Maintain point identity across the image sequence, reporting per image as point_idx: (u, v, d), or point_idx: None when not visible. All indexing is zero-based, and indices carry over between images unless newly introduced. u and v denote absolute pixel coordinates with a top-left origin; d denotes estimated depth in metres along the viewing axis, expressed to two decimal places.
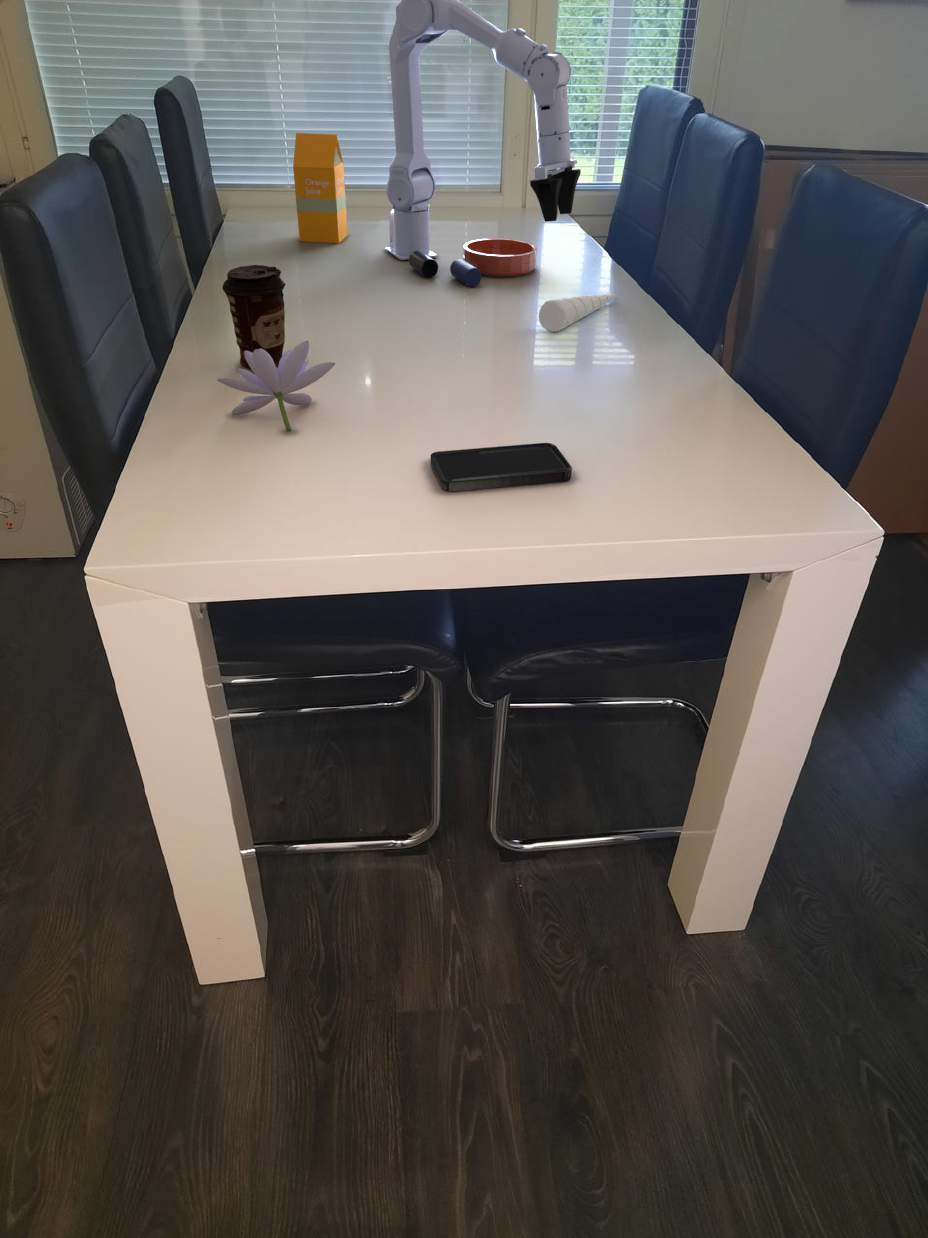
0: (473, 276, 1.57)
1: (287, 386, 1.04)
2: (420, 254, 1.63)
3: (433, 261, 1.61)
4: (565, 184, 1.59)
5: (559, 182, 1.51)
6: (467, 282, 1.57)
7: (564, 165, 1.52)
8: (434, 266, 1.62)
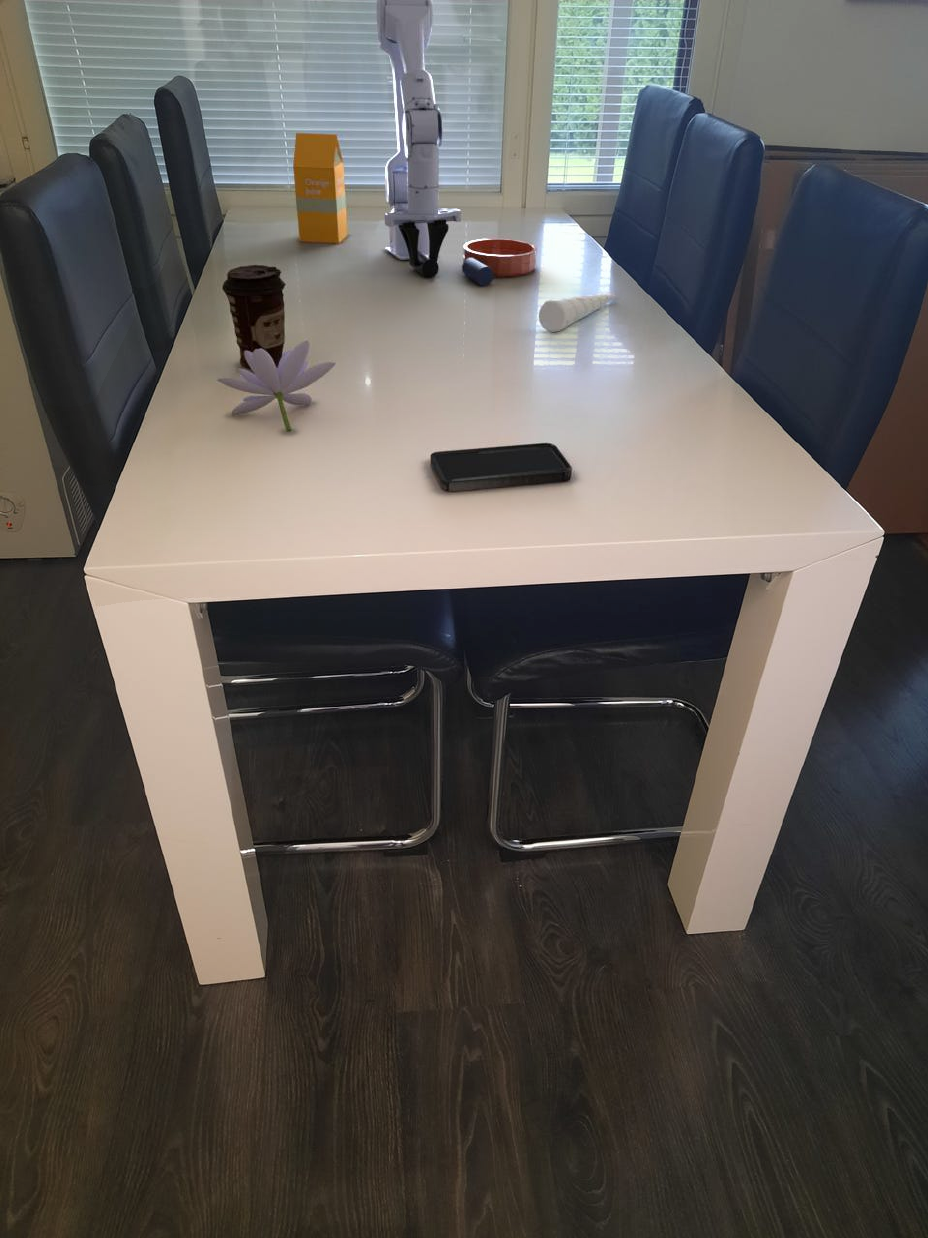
0: (486, 276, 1.58)
1: (287, 386, 1.04)
2: (420, 254, 1.63)
3: (433, 261, 1.61)
4: (433, 235, 1.62)
5: (413, 232, 1.58)
6: (481, 270, 1.57)
7: (418, 218, 1.56)
8: (434, 267, 1.62)
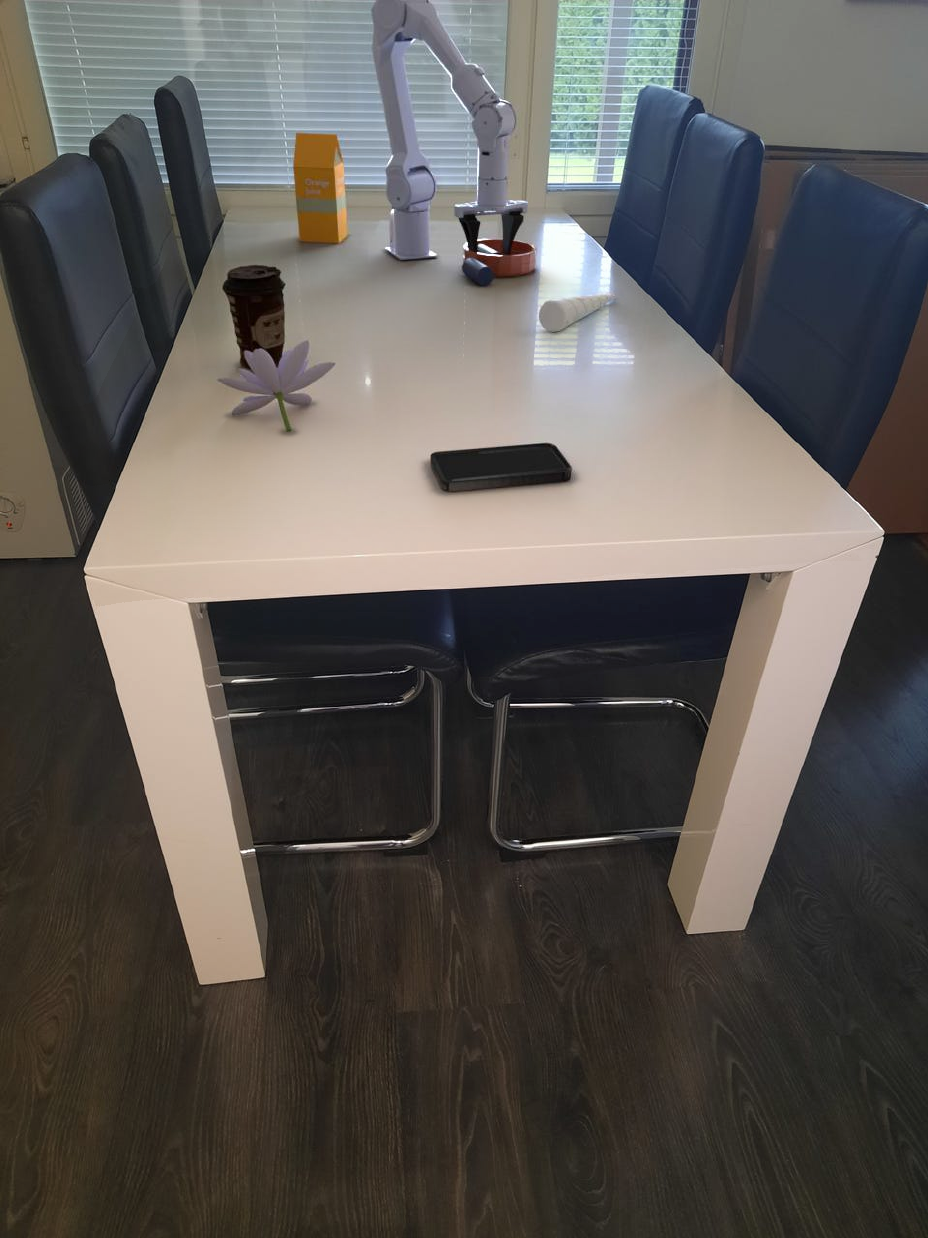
0: (486, 276, 1.58)
1: (287, 386, 1.04)
2: (484, 248, 1.66)
3: (498, 254, 1.64)
4: (507, 226, 1.65)
5: (474, 224, 1.60)
6: (481, 270, 1.57)
7: (488, 210, 1.59)
8: None
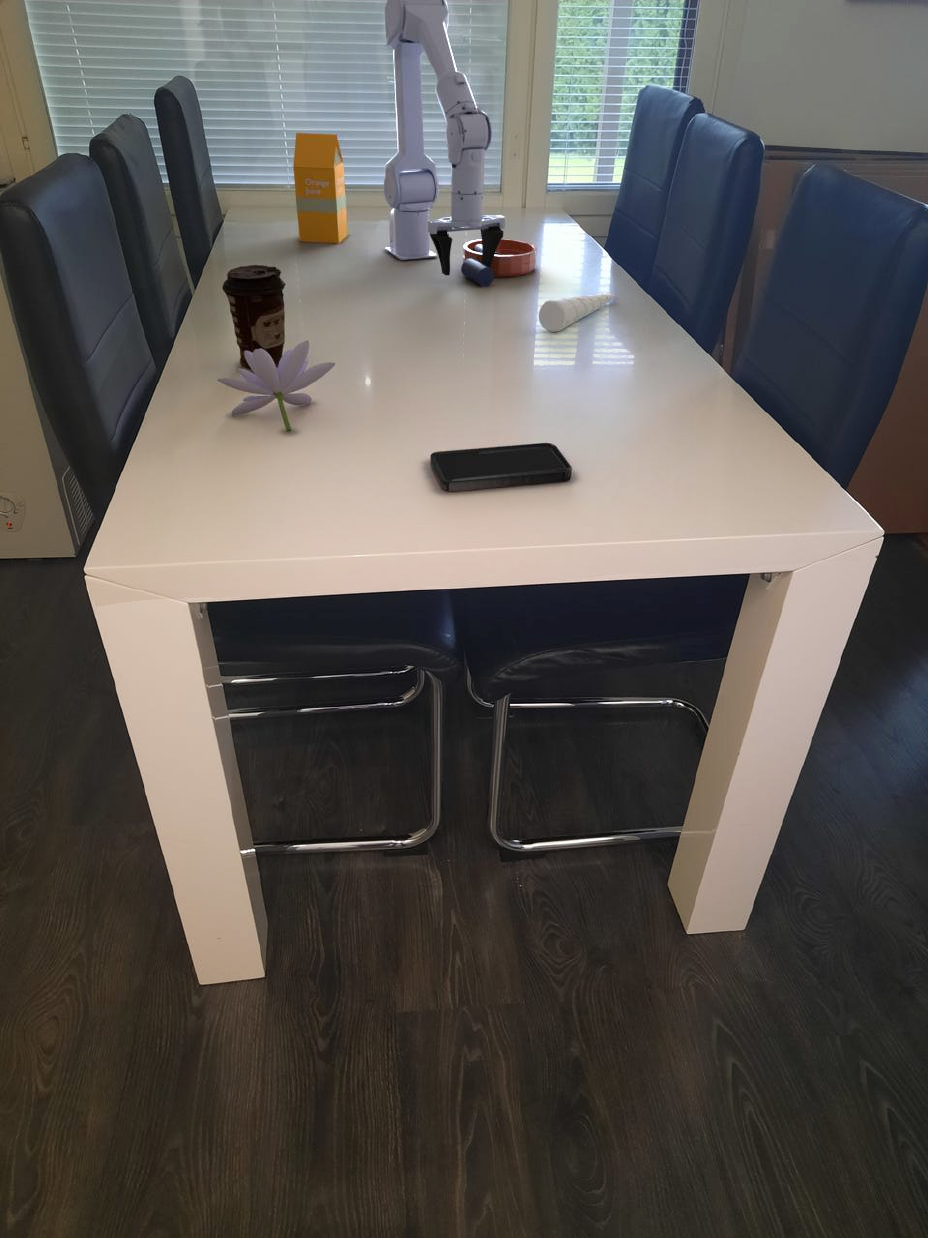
0: (486, 277, 1.58)
1: (287, 386, 1.04)
2: (480, 249, 1.66)
3: None
4: (487, 242, 1.58)
5: (446, 241, 1.52)
6: (485, 269, 1.57)
7: (462, 225, 1.52)
8: None
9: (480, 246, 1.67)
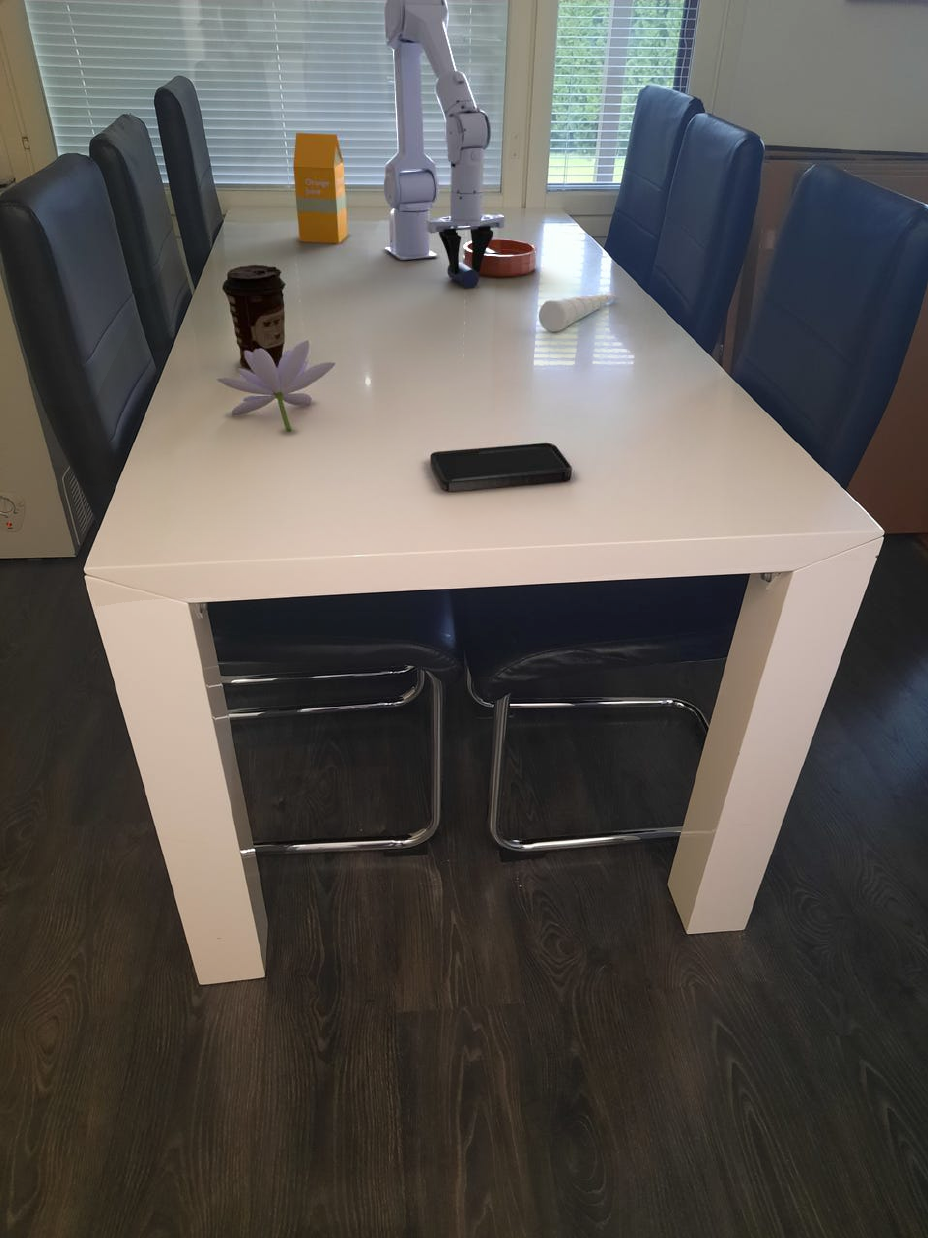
0: (471, 278, 1.57)
1: (287, 386, 1.04)
2: None
3: (494, 253, 1.63)
4: (476, 242, 1.57)
5: (455, 239, 1.52)
6: (464, 276, 1.56)
7: (462, 225, 1.52)
8: None
9: None
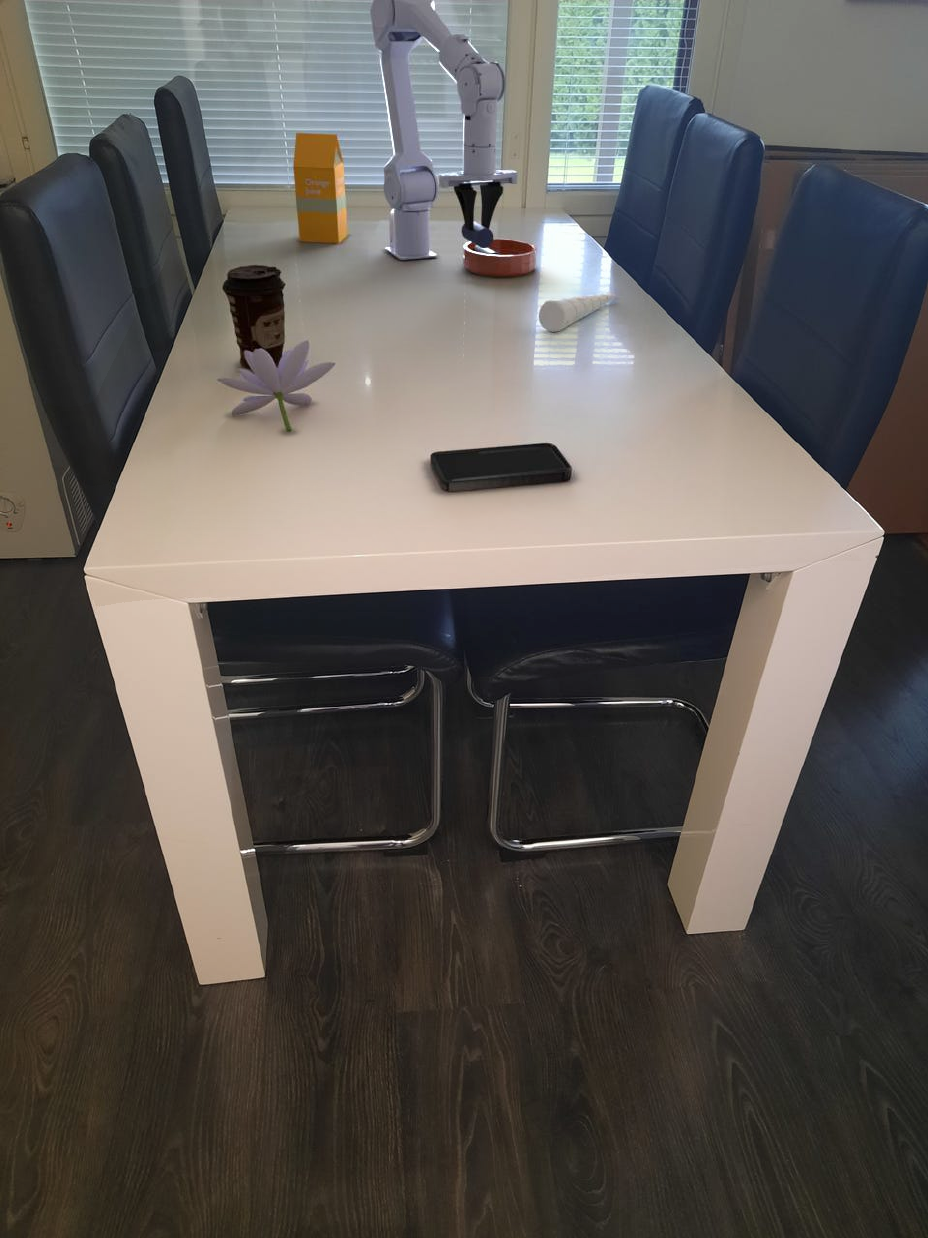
0: (485, 237, 1.56)
1: (287, 386, 1.04)
2: (480, 249, 1.66)
3: (494, 253, 1.63)
4: (486, 198, 1.55)
5: (470, 194, 1.51)
6: (479, 233, 1.55)
7: (474, 179, 1.50)
8: None
9: None
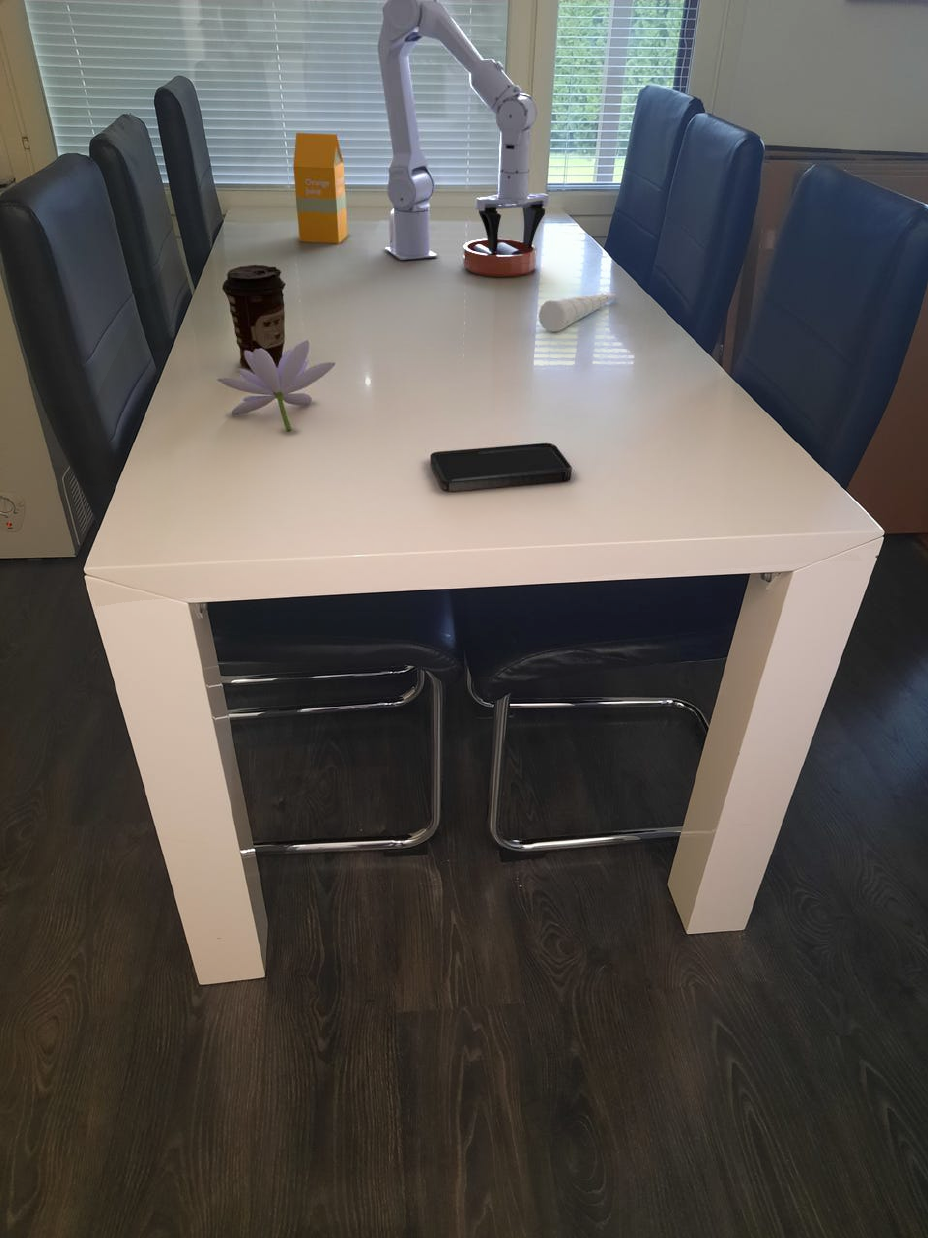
0: None
1: (287, 386, 1.04)
2: (480, 249, 1.66)
3: (494, 253, 1.63)
4: (529, 219, 1.66)
5: (495, 217, 1.61)
6: None
7: (509, 203, 1.60)
8: None
9: (480, 246, 1.67)
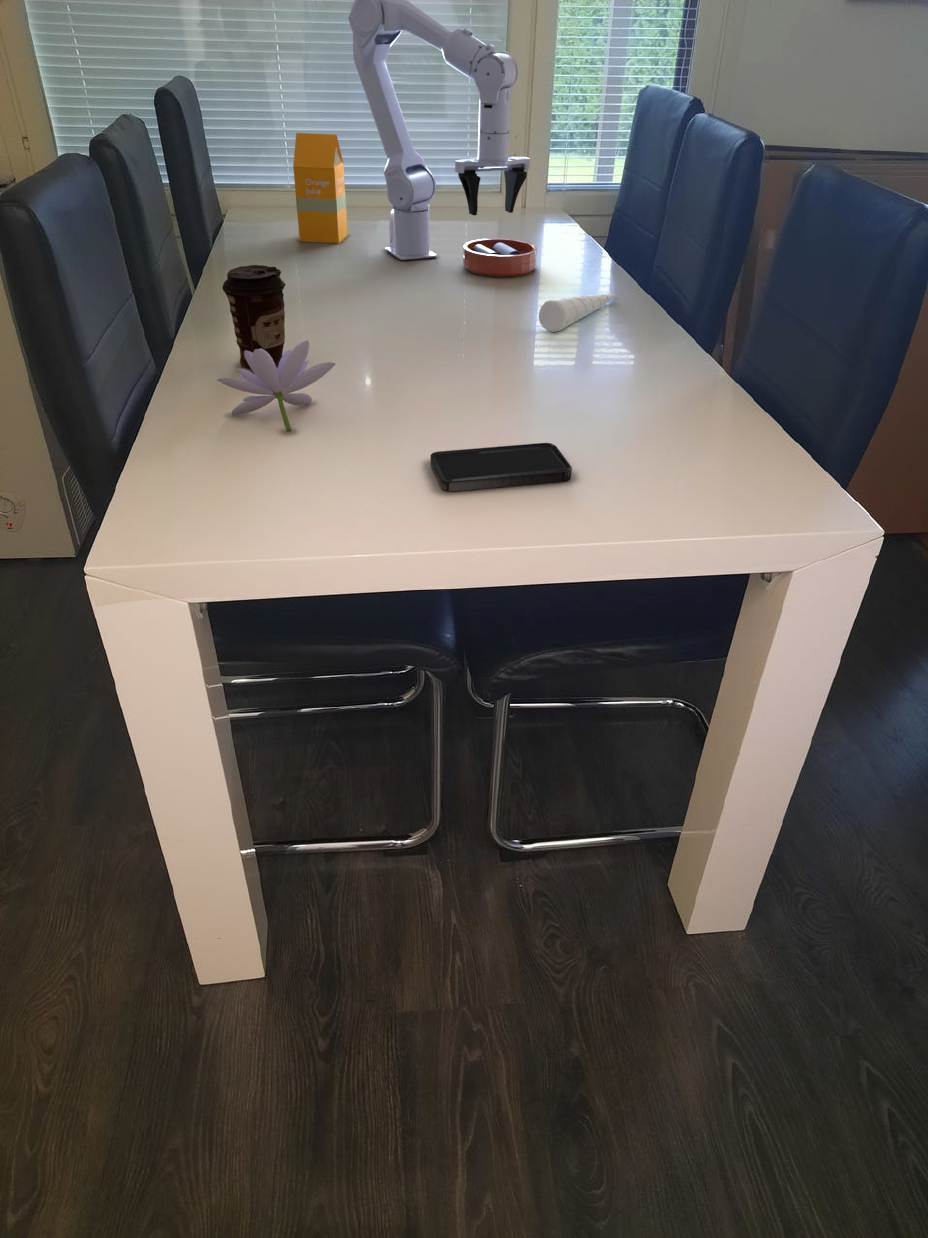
0: None
1: (287, 386, 1.04)
2: (480, 249, 1.66)
3: (494, 253, 1.63)
4: (510, 183, 1.62)
5: (474, 180, 1.57)
6: None
7: (489, 165, 1.56)
8: None
9: (480, 246, 1.67)
